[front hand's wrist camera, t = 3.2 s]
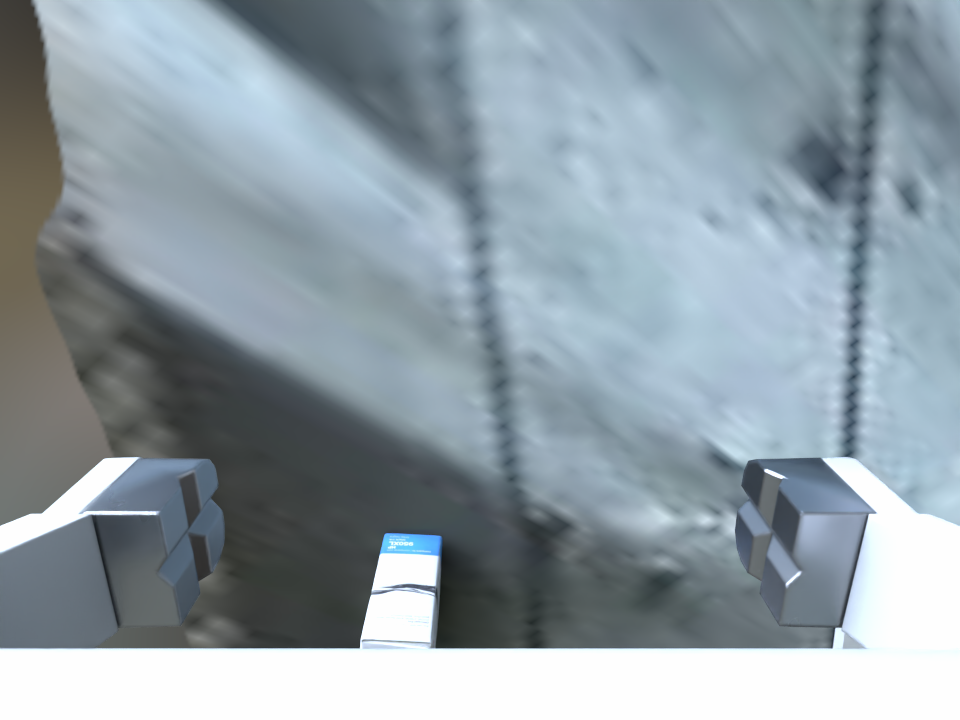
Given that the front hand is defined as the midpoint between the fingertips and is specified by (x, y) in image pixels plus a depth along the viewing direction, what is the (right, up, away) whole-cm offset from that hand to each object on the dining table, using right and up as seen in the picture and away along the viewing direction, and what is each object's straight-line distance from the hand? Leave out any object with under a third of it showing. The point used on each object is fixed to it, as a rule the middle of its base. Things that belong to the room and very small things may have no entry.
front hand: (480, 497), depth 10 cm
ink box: (-6, -16, +45) cm, 48 cm away
